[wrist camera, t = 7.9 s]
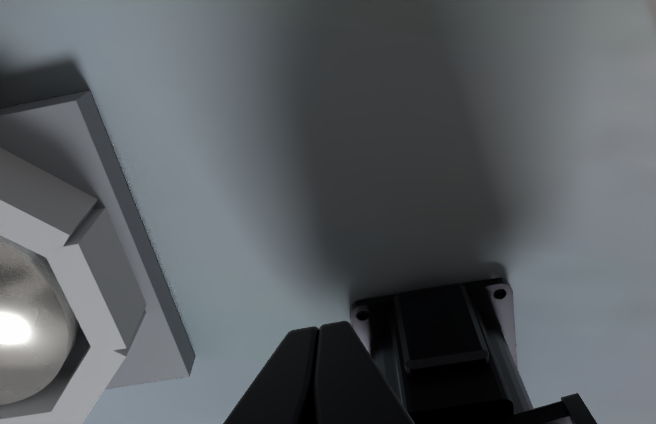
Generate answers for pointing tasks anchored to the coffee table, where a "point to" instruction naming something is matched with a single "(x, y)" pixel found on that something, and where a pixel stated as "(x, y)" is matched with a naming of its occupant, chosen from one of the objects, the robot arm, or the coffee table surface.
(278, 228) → the coffee table surface
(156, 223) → the coffee table surface
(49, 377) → the dial
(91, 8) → the coffee table surface
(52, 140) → the dial panel
